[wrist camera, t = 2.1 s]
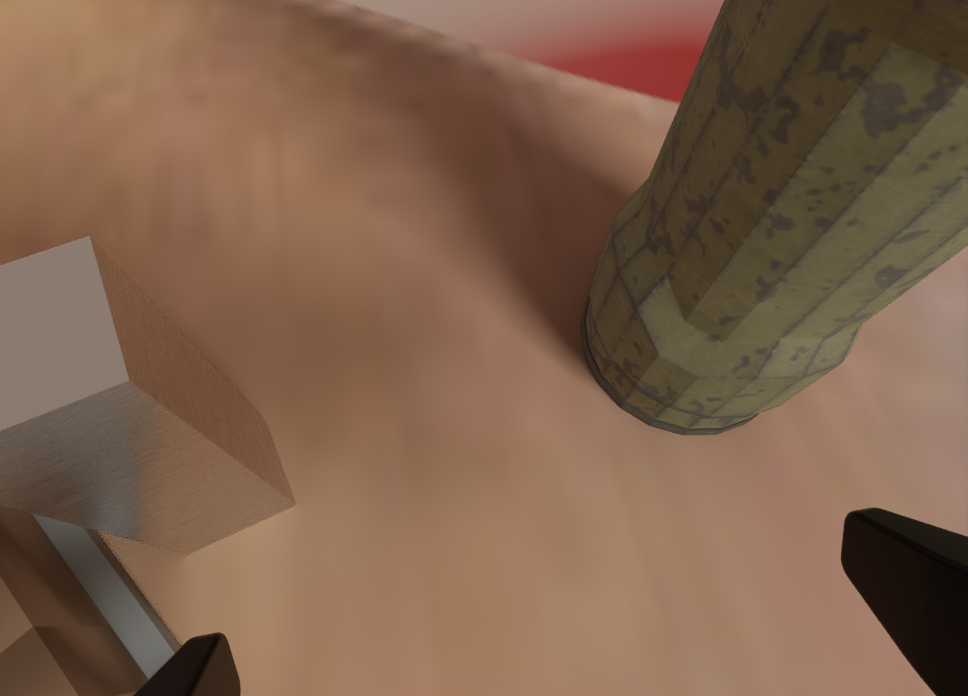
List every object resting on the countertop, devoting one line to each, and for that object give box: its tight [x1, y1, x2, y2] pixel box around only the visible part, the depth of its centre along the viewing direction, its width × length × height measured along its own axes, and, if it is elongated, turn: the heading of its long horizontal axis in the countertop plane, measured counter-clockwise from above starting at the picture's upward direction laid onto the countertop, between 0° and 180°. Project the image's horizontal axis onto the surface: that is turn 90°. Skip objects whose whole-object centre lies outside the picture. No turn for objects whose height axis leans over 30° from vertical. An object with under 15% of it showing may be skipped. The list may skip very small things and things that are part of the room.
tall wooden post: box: [0, 235, 296, 554], centre depth 17 cm, size 4×4×12 cm
